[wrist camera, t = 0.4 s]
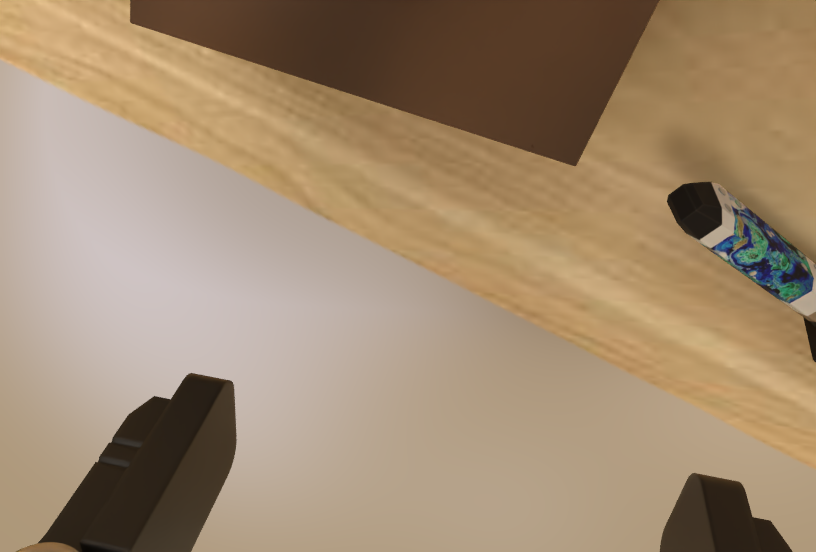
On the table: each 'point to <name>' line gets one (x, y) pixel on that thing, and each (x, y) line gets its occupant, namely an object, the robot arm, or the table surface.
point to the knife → (748, 246)
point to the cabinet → (436, 56)
